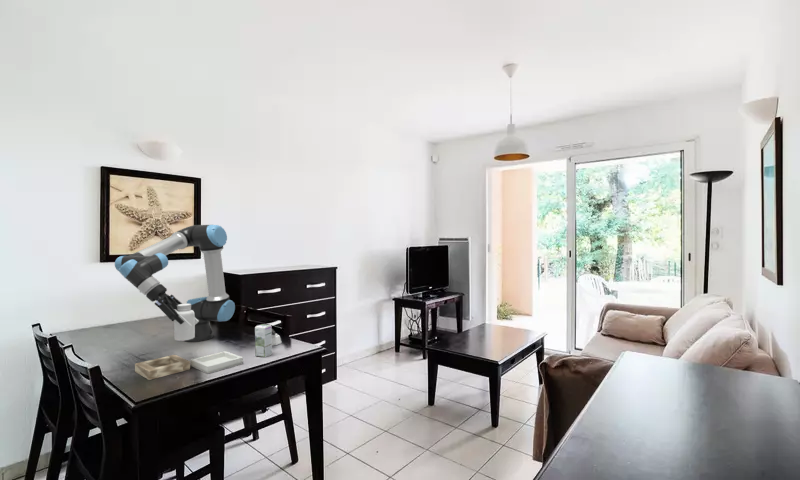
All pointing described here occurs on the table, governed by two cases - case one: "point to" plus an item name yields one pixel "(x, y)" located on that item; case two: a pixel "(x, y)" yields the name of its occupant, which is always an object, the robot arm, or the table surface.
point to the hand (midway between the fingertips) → (193, 325)
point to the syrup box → (263, 340)
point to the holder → (162, 366)
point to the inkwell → (275, 338)
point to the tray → (216, 362)
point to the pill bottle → (188, 315)
